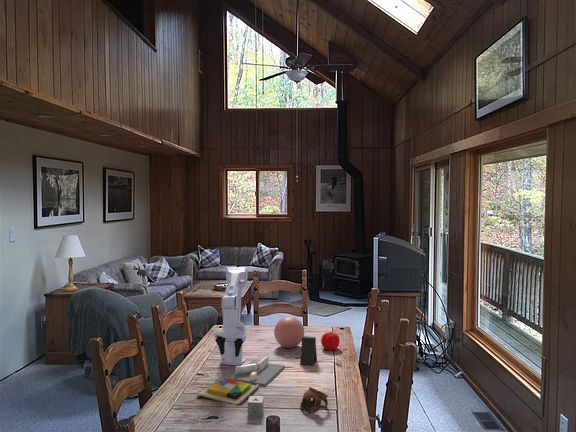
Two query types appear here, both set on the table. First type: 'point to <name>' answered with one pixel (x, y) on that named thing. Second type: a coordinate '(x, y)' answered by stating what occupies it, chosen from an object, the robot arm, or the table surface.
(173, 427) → the table surface
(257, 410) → the dice cube
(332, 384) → the table surface
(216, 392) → the wooden puzzle
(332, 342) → the tomato
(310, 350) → the phone stand
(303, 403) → the pottery mug
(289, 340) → the balloon
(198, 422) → the table surface
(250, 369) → the hinge leaf
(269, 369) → the hinge base
